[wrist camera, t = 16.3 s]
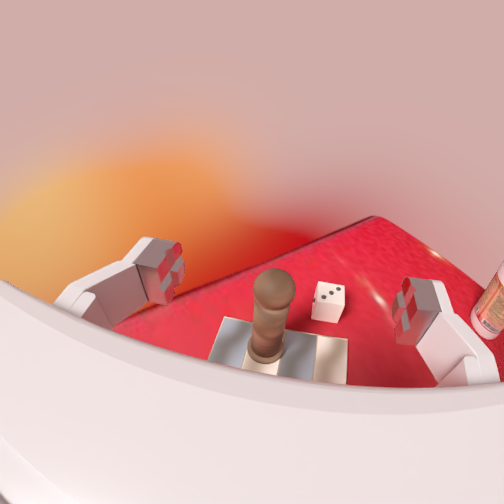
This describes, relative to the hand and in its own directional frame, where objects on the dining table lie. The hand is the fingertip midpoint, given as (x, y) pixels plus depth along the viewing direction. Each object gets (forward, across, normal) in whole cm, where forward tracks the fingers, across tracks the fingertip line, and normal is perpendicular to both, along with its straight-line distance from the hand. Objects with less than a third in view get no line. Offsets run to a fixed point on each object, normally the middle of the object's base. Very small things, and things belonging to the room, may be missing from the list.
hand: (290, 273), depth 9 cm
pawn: (+15, +2, +28) cm, 32 cm away
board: (+15, 0, +29) cm, 33 cm away
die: (+25, -6, +29) cm, 39 cm away
